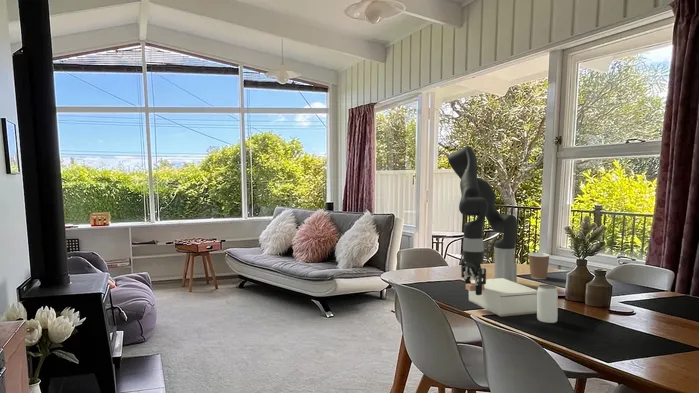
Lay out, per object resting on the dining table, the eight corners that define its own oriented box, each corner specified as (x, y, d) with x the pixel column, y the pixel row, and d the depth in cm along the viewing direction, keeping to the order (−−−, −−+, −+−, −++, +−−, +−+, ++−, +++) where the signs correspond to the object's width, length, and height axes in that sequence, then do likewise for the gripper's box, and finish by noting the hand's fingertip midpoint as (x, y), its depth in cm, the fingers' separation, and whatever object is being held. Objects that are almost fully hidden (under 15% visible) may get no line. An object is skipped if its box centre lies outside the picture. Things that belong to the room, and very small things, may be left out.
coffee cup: (553, 280, 207) (553, 256, 207) (532, 280, 208) (532, 256, 207) (544, 275, 218) (544, 252, 217) (524, 275, 218) (524, 252, 218)
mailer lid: (502, 280, 176) (502, 275, 176) (539, 293, 154) (539, 287, 154) (453, 283, 170) (453, 278, 170) (484, 297, 148) (484, 292, 148)
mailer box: (502, 297, 176) (502, 281, 175) (538, 313, 154) (538, 294, 154) (468, 300, 172) (468, 283, 172) (500, 316, 150) (500, 297, 150)
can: (556, 318, 148) (556, 284, 148) (558, 324, 142) (559, 289, 141) (536, 316, 150) (536, 283, 150) (537, 322, 144) (538, 287, 144)
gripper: (492, 252, 153) (492, 296, 154) (472, 246, 167) (471, 287, 168) (474, 252, 151) (474, 298, 152) (455, 247, 165) (455, 288, 166)
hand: (473, 292), depth 160 cm, fingers open, 7 cm apart
